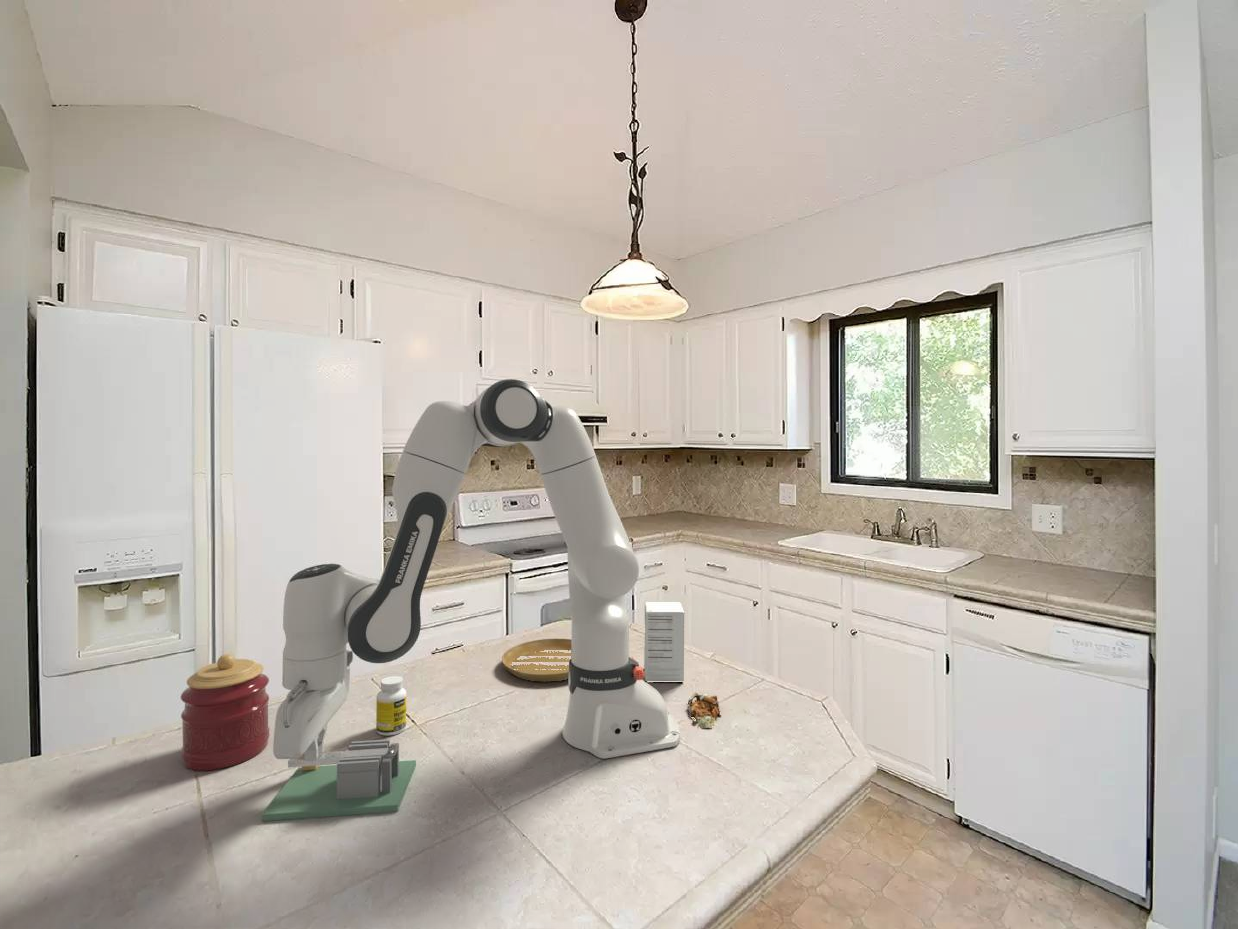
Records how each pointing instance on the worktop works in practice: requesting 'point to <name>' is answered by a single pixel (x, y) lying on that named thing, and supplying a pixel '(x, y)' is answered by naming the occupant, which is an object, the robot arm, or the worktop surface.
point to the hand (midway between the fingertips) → (314, 756)
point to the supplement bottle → (391, 707)
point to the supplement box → (664, 641)
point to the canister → (224, 714)
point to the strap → (343, 756)
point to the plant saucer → (538, 660)
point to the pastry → (704, 710)
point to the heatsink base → (325, 793)
